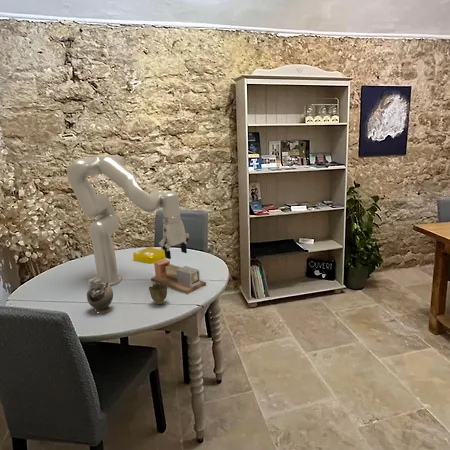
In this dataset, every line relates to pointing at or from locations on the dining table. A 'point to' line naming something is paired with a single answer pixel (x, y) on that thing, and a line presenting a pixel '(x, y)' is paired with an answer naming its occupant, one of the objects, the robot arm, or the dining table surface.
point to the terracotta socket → (161, 267)
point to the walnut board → (176, 284)
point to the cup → (158, 292)
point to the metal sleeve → (187, 276)
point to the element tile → (149, 255)
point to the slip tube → (172, 272)
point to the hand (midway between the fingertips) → (176, 255)
